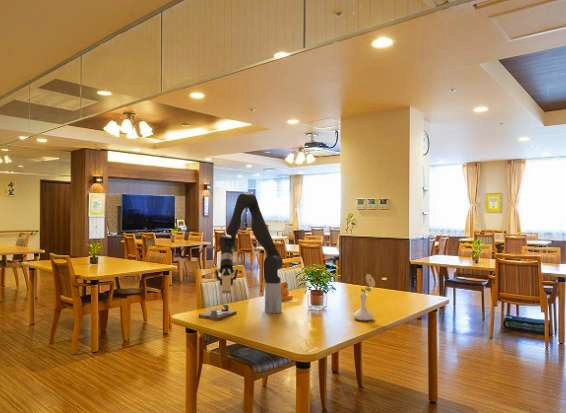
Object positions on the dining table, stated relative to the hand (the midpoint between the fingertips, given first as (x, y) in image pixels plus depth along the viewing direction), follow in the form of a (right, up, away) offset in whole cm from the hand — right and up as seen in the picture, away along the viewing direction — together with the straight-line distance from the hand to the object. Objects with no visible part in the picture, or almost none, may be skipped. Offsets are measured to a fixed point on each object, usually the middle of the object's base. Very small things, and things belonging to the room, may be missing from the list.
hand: (226, 284), depth 244 cm
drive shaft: (-1, -15, -2) cm, 15 cm away
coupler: (0, -5, +2) cm, 5 cm away
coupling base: (-4, -16, -8) cm, 18 cm away
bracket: (+34, -17, +39) cm, 54 cm away
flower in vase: (+78, -17, -12) cm, 81 cm away
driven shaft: (-5, -14, -14) cm, 21 cm away
